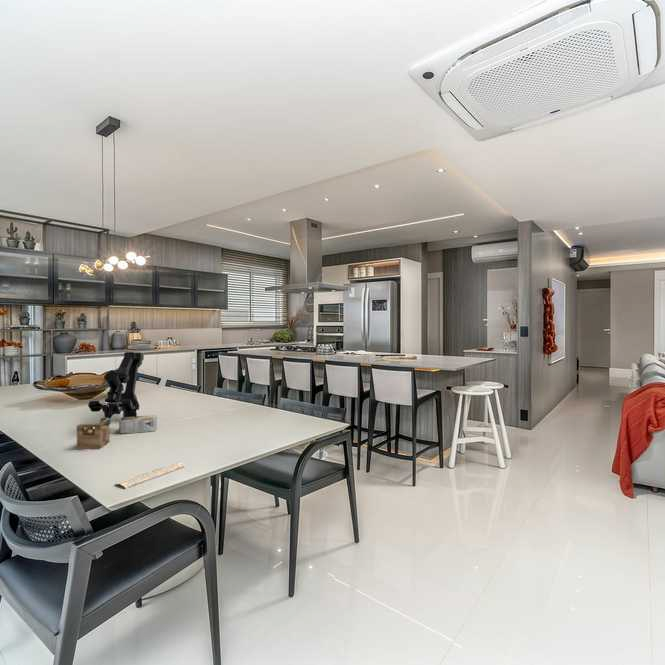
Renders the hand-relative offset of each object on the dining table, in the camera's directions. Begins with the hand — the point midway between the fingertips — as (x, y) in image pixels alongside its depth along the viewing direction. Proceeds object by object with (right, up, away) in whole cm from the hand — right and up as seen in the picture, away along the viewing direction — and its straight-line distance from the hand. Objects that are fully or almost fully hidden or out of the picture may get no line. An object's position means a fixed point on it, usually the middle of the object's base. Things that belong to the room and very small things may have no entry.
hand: (106, 420), depth 190 cm
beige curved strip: (+42, -10, -48) cm, 65 cm away
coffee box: (+17, -4, +14) cm, 23 cm away
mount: (+2, -8, -14) cm, 16 cm away
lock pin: (+1, -3, -9) cm, 10 cm away
